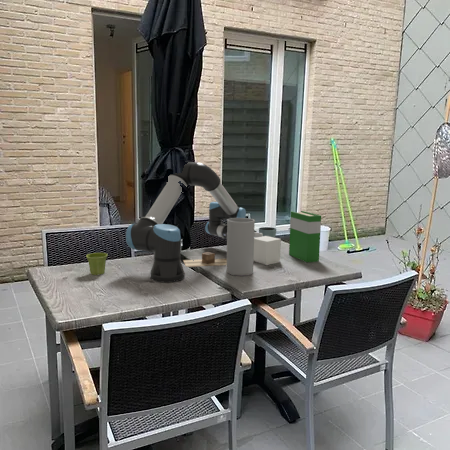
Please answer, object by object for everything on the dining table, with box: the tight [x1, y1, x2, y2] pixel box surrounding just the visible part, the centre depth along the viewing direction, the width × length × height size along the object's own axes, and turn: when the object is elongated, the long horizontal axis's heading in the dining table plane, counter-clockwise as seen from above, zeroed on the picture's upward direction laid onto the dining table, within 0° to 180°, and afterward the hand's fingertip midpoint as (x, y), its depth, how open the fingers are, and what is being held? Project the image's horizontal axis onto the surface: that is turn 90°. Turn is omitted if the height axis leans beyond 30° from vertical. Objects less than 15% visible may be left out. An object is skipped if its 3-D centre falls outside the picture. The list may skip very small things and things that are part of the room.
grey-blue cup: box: [258, 226, 277, 238], centre depth 261 cm, size 10×10×12 cm
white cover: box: [253, 236, 282, 266], centre depth 232 cm, size 10×10×12 cm
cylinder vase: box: [226, 217, 256, 277], centre depth 210 cm, size 12×12×25 cm
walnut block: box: [201, 251, 216, 264], centre depth 227 cm, size 5×5×5 cm
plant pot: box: [85, 252, 108, 276], centre depth 206 cm, size 9×9×9 cm
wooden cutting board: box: [182, 258, 227, 268], centre depth 227 cm, size 13×24×1 cm, turn 101°
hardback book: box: [288, 210, 322, 263], centre depth 240 cm, size 18×7×24 cm, turn 23°
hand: (253, 237), depth 239 cm, fingers open, 13 cm apart
